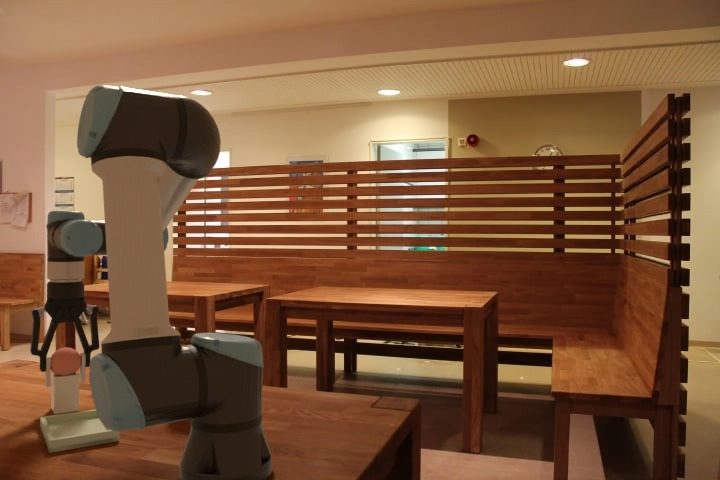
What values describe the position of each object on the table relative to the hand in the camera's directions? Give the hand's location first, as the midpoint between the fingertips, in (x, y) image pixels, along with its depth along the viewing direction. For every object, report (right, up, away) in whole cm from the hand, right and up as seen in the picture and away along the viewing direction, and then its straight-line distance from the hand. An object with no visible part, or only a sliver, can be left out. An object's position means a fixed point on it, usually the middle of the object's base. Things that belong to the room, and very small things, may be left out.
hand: (65, 383), depth 136 cm
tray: (+10, -6, -16) cm, 20 cm away
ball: (0, +5, 0) cm, 5 cm away
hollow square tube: (0, -6, 0) cm, 6 cm away
